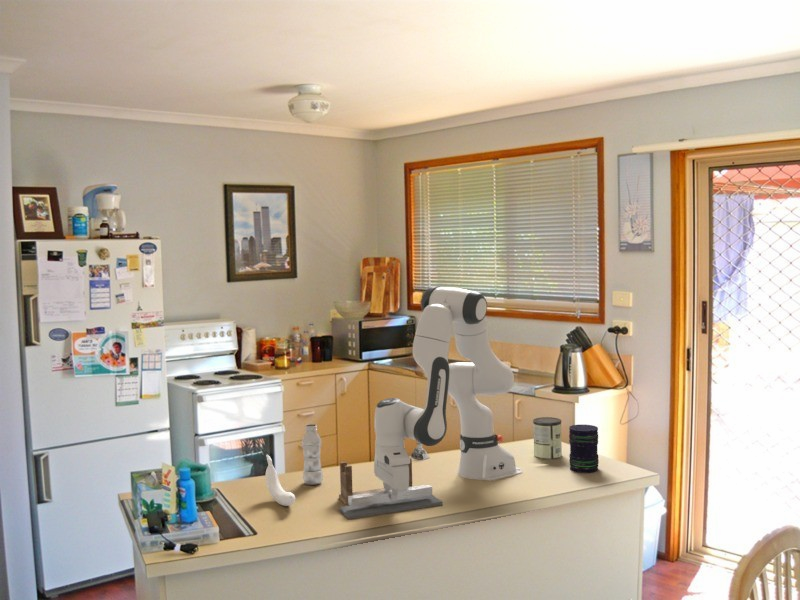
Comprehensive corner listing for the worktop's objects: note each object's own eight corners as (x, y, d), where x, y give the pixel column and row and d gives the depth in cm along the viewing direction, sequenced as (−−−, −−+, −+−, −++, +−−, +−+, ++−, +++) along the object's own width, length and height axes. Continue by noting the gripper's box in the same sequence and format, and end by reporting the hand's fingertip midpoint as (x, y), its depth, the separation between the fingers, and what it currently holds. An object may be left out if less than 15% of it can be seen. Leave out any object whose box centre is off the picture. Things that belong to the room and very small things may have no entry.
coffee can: (537, 453, 300) (536, 416, 299) (564, 455, 295) (564, 417, 295) (530, 459, 290) (529, 421, 289) (558, 462, 286) (557, 423, 285)
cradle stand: (406, 488, 258) (405, 453, 258) (414, 494, 252) (413, 458, 251) (338, 498, 250) (337, 462, 249) (345, 504, 243) (344, 467, 243)
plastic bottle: (319, 487, 262) (318, 427, 261) (300, 486, 263) (298, 427, 262) (325, 481, 268) (323, 423, 267) (306, 481, 270) (304, 423, 269)
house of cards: (442, 459, 296) (441, 438, 295) (426, 463, 290) (425, 443, 289) (425, 455, 302) (424, 435, 302) (408, 459, 296) (408, 439, 296)
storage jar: (588, 465, 281) (587, 423, 280) (604, 471, 272) (604, 428, 271) (563, 468, 278) (563, 426, 277) (579, 475, 269) (579, 431, 268)
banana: (288, 514, 236) (287, 465, 235) (261, 499, 251) (259, 453, 250) (303, 510, 238) (301, 462, 238) (275, 496, 254) (273, 450, 253)
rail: (428, 492, 245) (428, 484, 245) (432, 494, 243) (432, 486, 243) (348, 504, 236) (348, 496, 236) (351, 507, 233) (351, 498, 233)
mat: (430, 496, 249) (430, 493, 249) (442, 504, 241) (442, 501, 241) (339, 510, 238) (339, 507, 238) (348, 519, 230) (348, 516, 230)
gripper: (368, 446, 247) (369, 490, 248) (392, 462, 228) (393, 509, 229) (387, 444, 249) (388, 487, 250) (412, 459, 230) (413, 506, 231)
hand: (391, 498), depth 239 cm, fingers closed on rail, 3 cm apart
